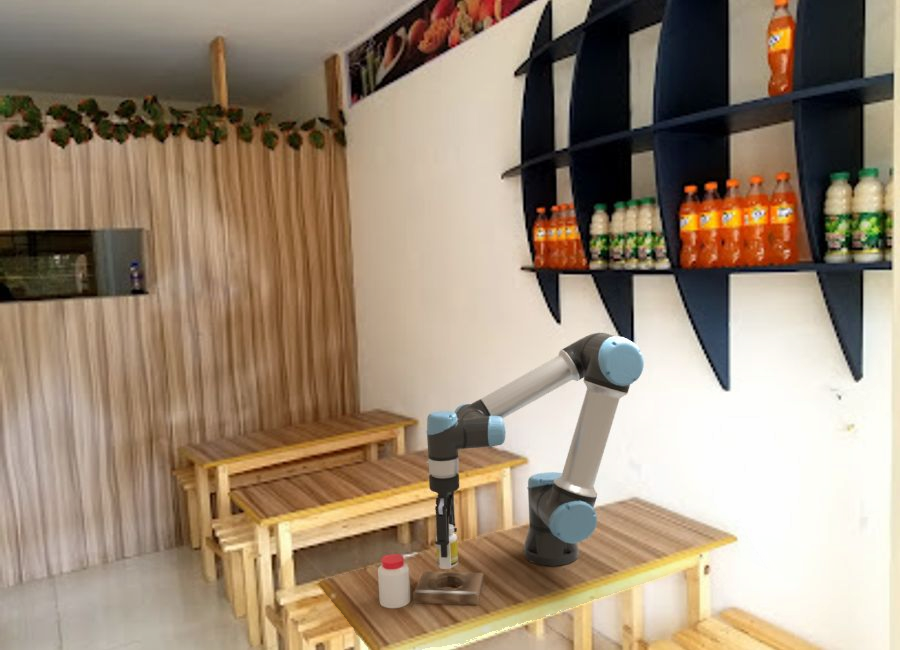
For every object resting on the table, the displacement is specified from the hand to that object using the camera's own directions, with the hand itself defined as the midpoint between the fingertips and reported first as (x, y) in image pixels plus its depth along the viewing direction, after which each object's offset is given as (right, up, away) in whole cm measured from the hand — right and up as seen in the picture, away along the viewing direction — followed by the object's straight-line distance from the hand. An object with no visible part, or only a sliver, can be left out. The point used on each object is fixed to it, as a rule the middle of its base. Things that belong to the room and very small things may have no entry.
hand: (447, 562), depth 180 cm
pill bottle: (-13, -9, -2) cm, 16 cm away
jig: (0, -8, +1) cm, 8 cm away
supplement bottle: (0, -1, 0) cm, 1 cm away
